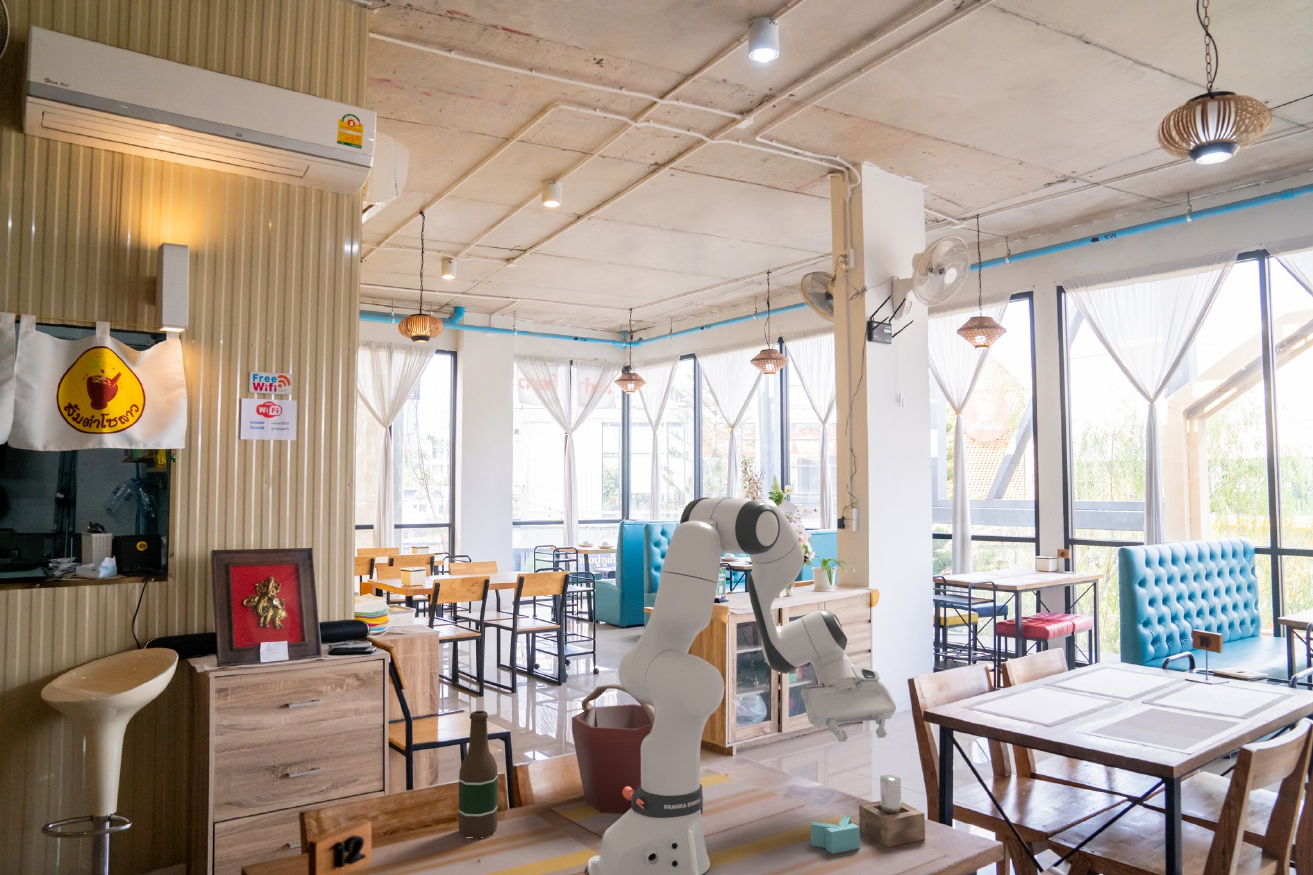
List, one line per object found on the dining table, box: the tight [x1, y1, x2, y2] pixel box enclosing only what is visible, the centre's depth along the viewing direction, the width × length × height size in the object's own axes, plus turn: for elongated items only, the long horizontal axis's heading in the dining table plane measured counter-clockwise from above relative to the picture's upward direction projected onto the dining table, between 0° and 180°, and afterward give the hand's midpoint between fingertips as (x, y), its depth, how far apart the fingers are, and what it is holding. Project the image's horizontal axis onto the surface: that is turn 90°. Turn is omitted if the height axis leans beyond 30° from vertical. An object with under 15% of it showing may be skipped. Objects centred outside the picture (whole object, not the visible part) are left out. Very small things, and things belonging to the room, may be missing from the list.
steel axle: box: [879, 774, 902, 815], centre depth 168 cm, size 4×4×11 cm
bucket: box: [571, 683, 655, 815], centre depth 189 cm, size 24×22×25 cm
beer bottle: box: [458, 710, 499, 839], centre depth 172 cm, size 8×8×24 cm
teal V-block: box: [810, 815, 861, 855], centre depth 163 cm, size 9×6×4 cm, turn 112°
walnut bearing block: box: [858, 800, 926, 848], centre depth 168 cm, size 9×9×5 cm
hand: (863, 738), depth 178 cm, fingers open, 8 cm apart
